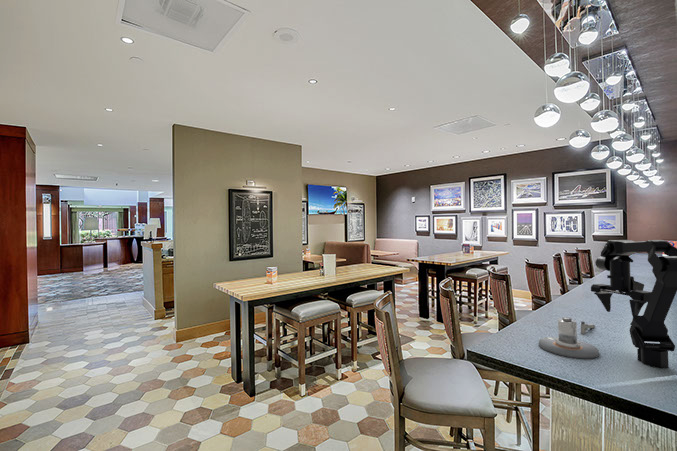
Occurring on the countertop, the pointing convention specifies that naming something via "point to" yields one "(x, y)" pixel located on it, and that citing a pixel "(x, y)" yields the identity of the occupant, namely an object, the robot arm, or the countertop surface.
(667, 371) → the countertop surface
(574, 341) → the cover
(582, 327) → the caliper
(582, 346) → the turntable
